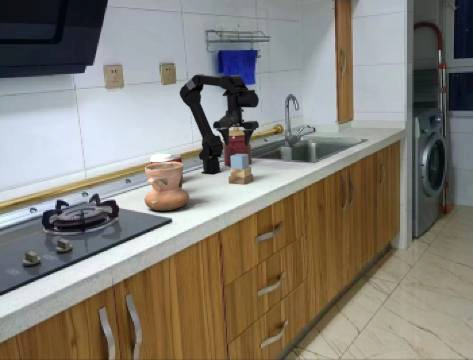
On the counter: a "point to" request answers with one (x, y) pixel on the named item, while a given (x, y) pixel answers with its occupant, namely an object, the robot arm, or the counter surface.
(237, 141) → the canister
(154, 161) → the coffee cup
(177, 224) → the counter surface
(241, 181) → the tower base
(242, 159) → the block
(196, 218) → the counter surface
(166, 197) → the ceramic jug
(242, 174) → the tower mid
